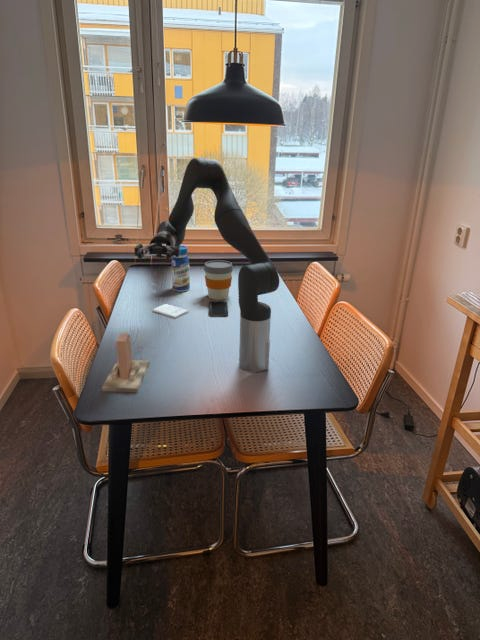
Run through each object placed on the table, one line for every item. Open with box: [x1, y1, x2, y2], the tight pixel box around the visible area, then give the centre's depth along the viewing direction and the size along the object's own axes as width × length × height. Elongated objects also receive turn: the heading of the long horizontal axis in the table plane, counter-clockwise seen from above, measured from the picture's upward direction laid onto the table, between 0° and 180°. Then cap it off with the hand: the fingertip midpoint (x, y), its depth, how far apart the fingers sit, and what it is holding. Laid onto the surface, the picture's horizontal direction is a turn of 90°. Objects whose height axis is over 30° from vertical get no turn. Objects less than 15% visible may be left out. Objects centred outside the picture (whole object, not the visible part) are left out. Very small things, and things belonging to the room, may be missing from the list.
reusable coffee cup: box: [203, 259, 234, 301], centre depth 189 cm, size 13×13×15 cm
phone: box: [208, 300, 229, 318], centre depth 178 cm, size 8×1×15 cm
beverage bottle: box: [170, 245, 191, 293], centre depth 196 cm, size 8×8×20 cm
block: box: [116, 333, 133, 378], centre depth 124 cm, size 5×2×12 cm, turn 179°
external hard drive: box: [152, 303, 190, 319], centre depth 174 cm, size 2×8×12 cm
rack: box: [101, 359, 150, 393], centre depth 127 cm, size 16×10×3 cm, turn 179°
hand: (153, 256), depth 132 cm, fingers open, 8 cm apart
